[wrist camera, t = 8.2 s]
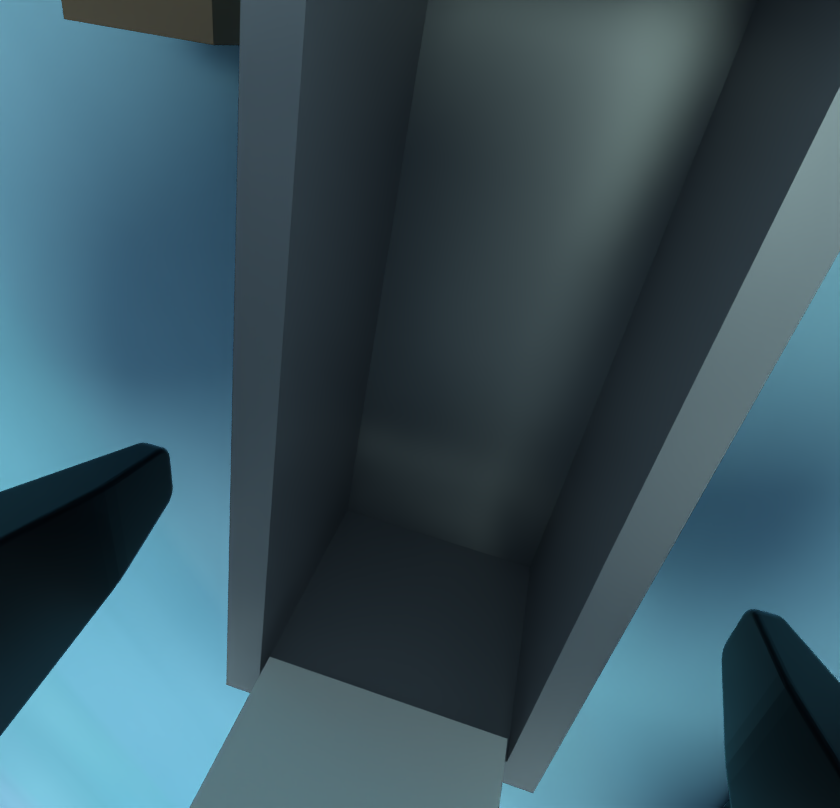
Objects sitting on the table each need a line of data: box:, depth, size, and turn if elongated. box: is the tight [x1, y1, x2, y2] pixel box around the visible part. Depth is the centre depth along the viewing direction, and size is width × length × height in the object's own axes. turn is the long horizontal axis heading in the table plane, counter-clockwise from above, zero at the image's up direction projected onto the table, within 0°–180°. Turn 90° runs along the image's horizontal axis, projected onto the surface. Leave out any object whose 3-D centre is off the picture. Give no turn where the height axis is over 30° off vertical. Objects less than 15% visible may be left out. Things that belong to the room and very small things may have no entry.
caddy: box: [190, 0, 840, 808], centre depth 8 cm, size 12×6×8 cm, turn 170°
